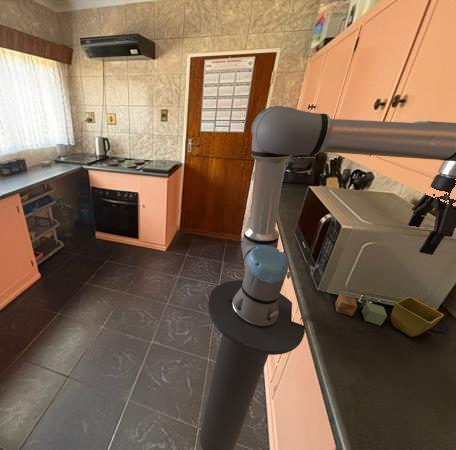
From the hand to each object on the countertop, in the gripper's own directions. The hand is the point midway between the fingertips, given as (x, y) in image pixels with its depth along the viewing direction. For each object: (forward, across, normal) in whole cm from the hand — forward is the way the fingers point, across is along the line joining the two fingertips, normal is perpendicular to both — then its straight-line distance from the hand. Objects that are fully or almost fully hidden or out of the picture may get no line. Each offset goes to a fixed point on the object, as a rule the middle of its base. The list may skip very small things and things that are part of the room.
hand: (416, 242), depth 77 cm
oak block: (+27, -9, +12) cm, 31 cm away
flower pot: (+27, -9, -5) cm, 29 cm away
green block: (+27, -9, +4) cm, 28 cm away
